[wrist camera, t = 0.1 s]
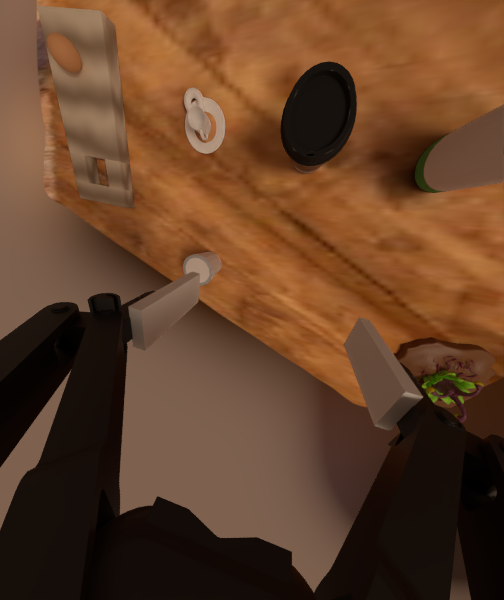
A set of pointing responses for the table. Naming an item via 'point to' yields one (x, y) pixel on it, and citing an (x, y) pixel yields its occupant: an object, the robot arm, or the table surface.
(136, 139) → the table surface
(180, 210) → the table surface
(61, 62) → the ball
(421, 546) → the robot arm
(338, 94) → the coffee cup
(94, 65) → the box with square hole
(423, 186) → the wine bottle
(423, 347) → the plant
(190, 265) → the white cup
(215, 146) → the teacup and saucer
